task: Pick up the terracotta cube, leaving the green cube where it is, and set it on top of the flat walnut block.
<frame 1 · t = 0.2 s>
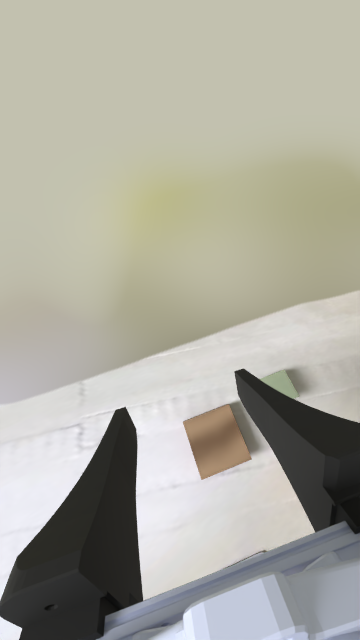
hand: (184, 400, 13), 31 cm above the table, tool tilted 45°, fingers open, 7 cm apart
green cube: (269, 389, 42), on the table
walnut block: (214, 436, 40), on the table
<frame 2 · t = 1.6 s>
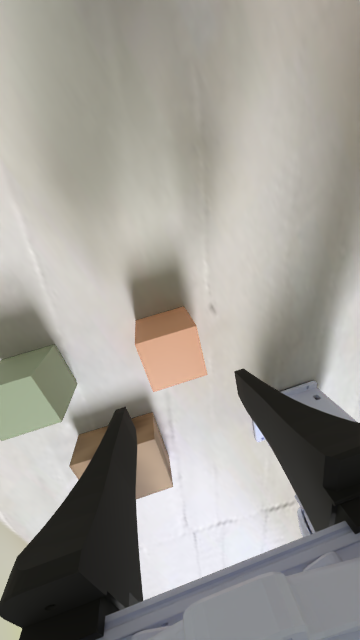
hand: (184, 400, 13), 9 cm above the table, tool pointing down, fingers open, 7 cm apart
green cube: (42, 371, 21), on the table
terracotta cube: (166, 334, 22), on the table
walnut block: (127, 444, 27), on the table
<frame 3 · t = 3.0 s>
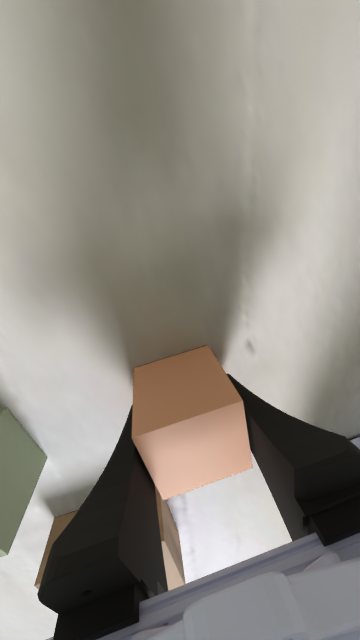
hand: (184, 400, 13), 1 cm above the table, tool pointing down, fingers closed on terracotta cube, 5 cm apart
terracotta cube: (180, 385, 14), on the table, touching gripper
walnut block: (123, 522, 20), on the table
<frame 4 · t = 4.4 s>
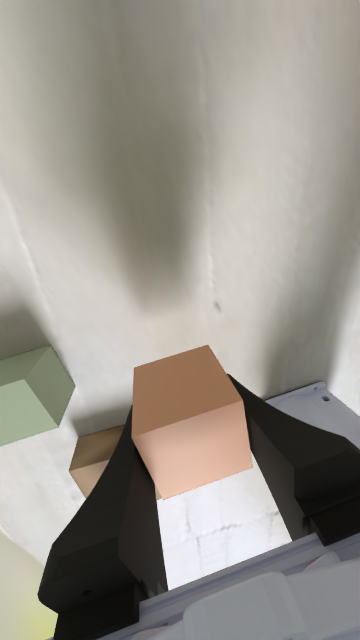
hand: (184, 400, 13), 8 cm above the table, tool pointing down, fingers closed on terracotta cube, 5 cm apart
green cube: (38, 373, 20), on the table
terracotta cube: (180, 385, 14), point 7 cm above the table, touching gripper
walnut block: (128, 449, 26), on the table
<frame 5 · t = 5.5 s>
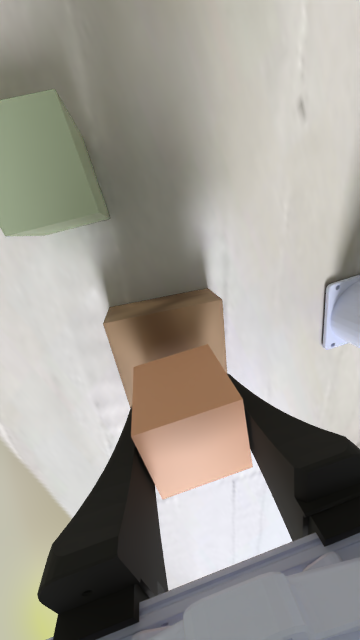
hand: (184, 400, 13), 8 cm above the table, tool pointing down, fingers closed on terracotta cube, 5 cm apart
green cube: (62, 189, 15), on the table
terracotta cube: (180, 384, 14), point 7 cm above the table, touching gripper
walnut block: (167, 339, 21), on the table
when the fingers open (6 cm above the table, at t = 6.3 s): terracotta cube drops 1 cm, resting on walnut block.
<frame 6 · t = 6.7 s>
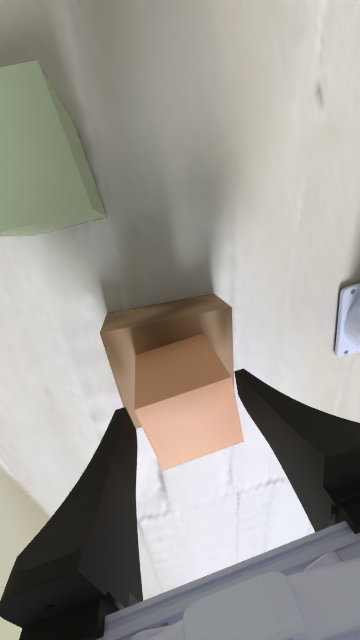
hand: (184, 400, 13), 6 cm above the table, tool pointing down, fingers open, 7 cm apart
green cube: (53, 183, 13), on the table
terracotta cube: (178, 371, 16), point 4 cm above the table, touching walnut block
walnut block: (169, 347, 19), on the table, touching terracotta cube
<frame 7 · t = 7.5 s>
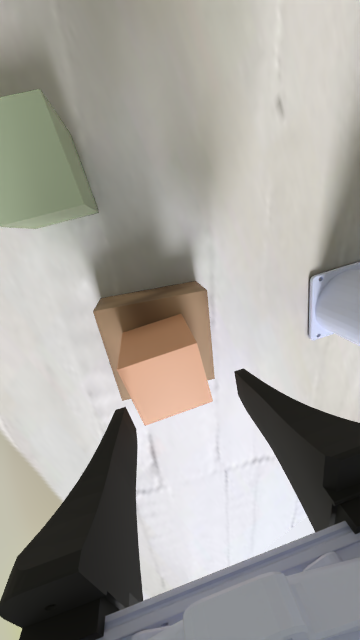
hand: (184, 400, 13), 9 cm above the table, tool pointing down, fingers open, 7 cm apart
green cube: (52, 184, 15), on the table
terracotta cube: (161, 347, 18), point 4 cm above the table
walnut block: (157, 330, 22), on the table
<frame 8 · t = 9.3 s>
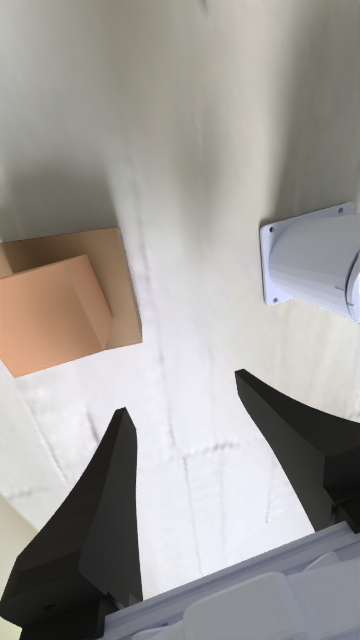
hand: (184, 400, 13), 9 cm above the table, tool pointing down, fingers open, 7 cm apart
terracotta cube: (67, 297, 15), point 4 cm above the table
walnut block: (82, 289, 19), on the table
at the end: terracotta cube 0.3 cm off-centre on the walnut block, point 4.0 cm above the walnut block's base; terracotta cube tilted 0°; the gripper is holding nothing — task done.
